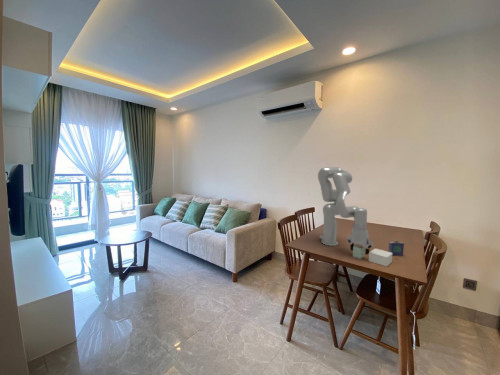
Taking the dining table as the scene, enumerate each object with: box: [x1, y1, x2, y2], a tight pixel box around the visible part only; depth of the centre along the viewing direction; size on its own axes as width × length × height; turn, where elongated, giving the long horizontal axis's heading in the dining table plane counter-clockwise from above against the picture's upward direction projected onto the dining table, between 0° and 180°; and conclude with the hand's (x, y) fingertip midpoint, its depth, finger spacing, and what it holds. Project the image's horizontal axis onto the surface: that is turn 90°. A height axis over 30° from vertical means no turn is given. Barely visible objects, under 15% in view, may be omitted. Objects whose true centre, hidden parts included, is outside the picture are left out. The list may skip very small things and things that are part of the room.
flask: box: [387, 239, 405, 257], centre depth 144 cm, size 9×3×11 cm, turn 83°
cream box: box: [368, 248, 393, 267], centre depth 134 cm, size 10×10×6 cm
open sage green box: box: [352, 244, 365, 260], centre depth 141 cm, size 5×5×8 cm
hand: (359, 252), depth 140 cm, fingers open, 9 cm apart
